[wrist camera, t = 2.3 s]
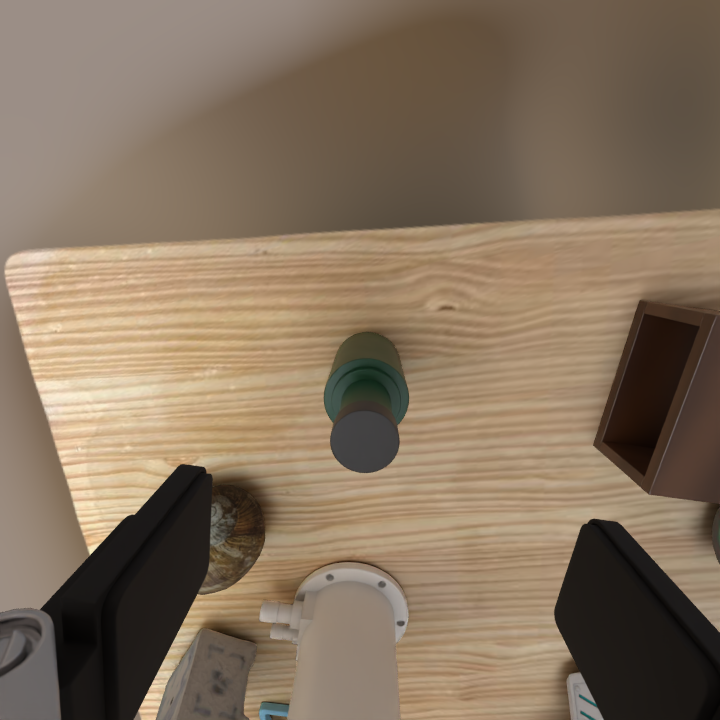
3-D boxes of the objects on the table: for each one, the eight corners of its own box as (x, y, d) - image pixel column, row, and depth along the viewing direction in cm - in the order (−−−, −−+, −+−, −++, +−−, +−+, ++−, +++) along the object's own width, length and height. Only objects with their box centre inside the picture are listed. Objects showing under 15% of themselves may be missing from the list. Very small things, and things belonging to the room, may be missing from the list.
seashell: (267, 470, 40) (242, 522, 32) (278, 548, 43) (258, 614, 35) (157, 474, 41) (107, 527, 33) (174, 551, 43) (131, 617, 35)
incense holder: (234, 698, 49) (199, 816, 39) (172, 670, 48) (119, 783, 38) (272, 646, 46) (244, 757, 36) (207, 615, 45) (160, 720, 35)
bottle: (331, 390, 38) (305, 483, 23) (338, 327, 36) (316, 383, 21) (394, 398, 38) (410, 497, 23) (405, 337, 36) (428, 399, 21)
